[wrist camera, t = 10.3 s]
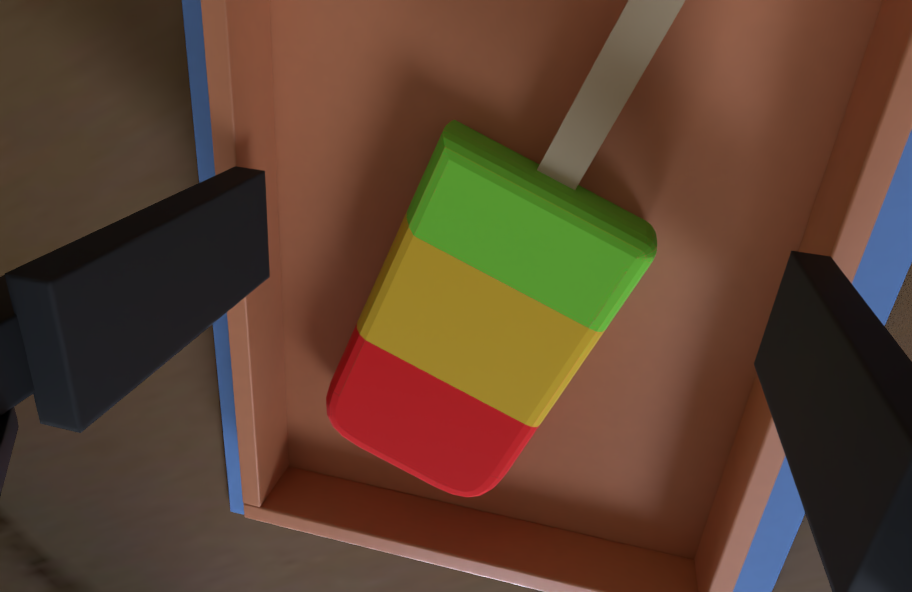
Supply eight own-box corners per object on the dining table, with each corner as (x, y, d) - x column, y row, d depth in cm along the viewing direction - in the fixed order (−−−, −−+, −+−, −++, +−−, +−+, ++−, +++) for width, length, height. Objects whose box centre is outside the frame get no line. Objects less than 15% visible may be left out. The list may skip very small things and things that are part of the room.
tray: (707, 564, 20) (717, 635, 18) (280, 466, 23) (243, 518, 21) (1001, -270, 11) (1090, -330, 9) (243, -290, 14) (170, -340, 12)
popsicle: (331, 391, 20) (306, 428, 19) (576, -148, 13) (570, -167, 11) (492, 475, 20) (480, 520, 19) (823, -18, 13) (853, -18, 11)
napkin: (749, 632, 21) (751, 640, 21) (234, 506, 24) (230, 511, 24) (1211, -468, 10) (1227, -480, 10) (147, -449, 13) (137, -458, 13)
